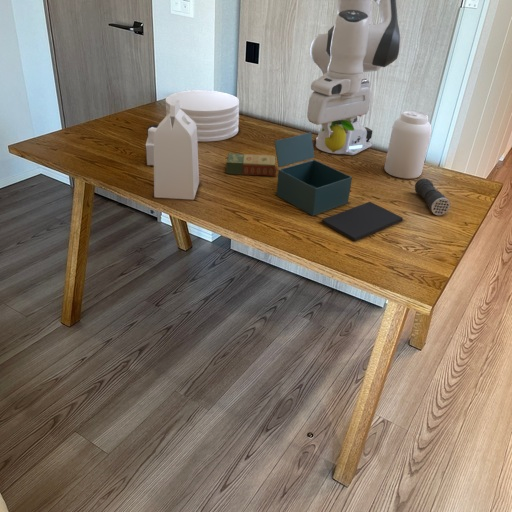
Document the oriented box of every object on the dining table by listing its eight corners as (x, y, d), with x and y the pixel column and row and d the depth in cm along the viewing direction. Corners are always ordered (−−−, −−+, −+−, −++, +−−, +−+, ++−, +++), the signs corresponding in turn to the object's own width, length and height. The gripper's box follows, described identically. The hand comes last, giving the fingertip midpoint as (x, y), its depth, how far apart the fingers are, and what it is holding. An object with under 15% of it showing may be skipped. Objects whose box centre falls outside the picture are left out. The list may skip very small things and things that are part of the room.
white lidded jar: (376, 171, 169) (388, 112, 158) (395, 162, 177) (407, 105, 166) (409, 182, 162) (424, 122, 151) (427, 172, 170) (442, 114, 159)
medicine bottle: (148, 157, 169) (146, 122, 163) (170, 157, 170) (168, 123, 163) (146, 165, 163) (144, 129, 157) (168, 165, 164) (167, 130, 157)
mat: (369, 204, 147) (369, 201, 147) (402, 220, 140) (402, 217, 139) (321, 222, 136) (321, 219, 136) (354, 241, 129) (354, 238, 128)
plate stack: (236, 143, 185) (237, 112, 179) (161, 139, 184) (159, 108, 178) (239, 120, 208) (240, 92, 202) (172, 116, 208) (171, 88, 202)
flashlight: (411, 192, 156) (415, 176, 153) (428, 192, 157) (432, 176, 154) (429, 215, 143) (434, 198, 140) (447, 215, 144) (452, 198, 141)
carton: (274, 176, 161) (275, 164, 158) (225, 173, 161) (225, 161, 159) (275, 166, 168) (276, 154, 165) (227, 163, 168) (227, 151, 166)
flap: (279, 167, 144) (278, 167, 145) (314, 157, 152) (314, 157, 153) (274, 140, 142) (274, 140, 143) (311, 132, 150) (310, 132, 150)
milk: (162, 180, 154) (157, 95, 140) (199, 182, 154) (198, 97, 140) (154, 197, 144) (148, 107, 130) (193, 199, 144) (192, 110, 130)
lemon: (350, 154, 136) (356, 118, 130) (334, 158, 133) (339, 121, 127) (334, 146, 140) (339, 111, 135) (318, 149, 137) (322, 113, 132)
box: (276, 195, 149) (278, 169, 145) (311, 184, 157) (314, 159, 153) (312, 215, 139) (316, 188, 135) (347, 203, 147) (352, 177, 143)
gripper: (361, 75, 134) (353, 125, 141) (306, 83, 123) (300, 137, 130) (379, 80, 130) (370, 132, 137) (324, 89, 119) (317, 145, 126)
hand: (336, 135), depth 134 cm, fingers closed on lemon, 5 cm apart
